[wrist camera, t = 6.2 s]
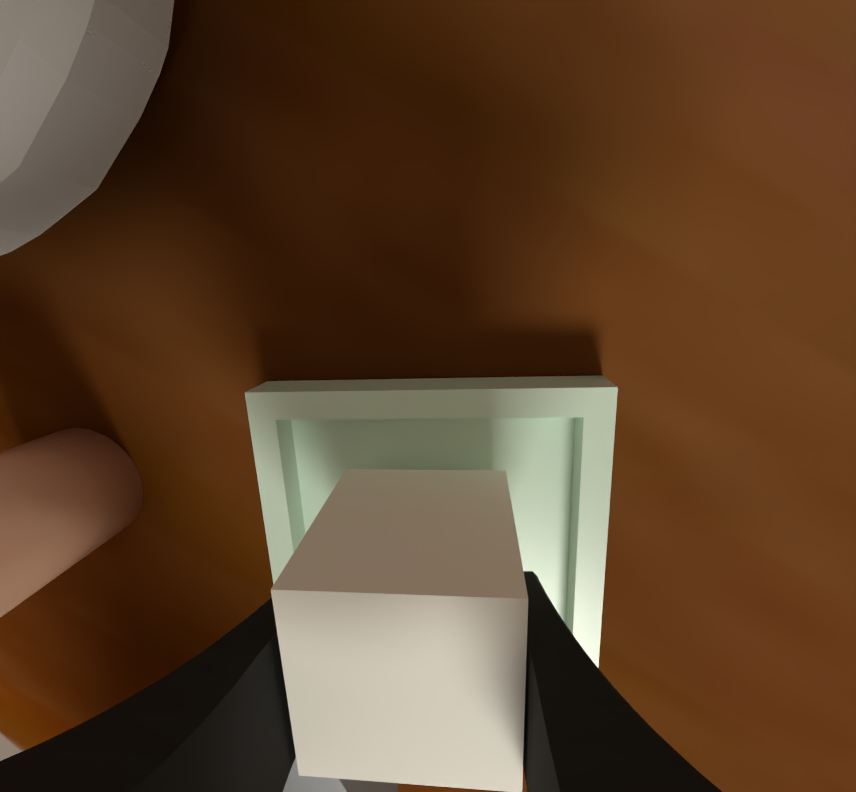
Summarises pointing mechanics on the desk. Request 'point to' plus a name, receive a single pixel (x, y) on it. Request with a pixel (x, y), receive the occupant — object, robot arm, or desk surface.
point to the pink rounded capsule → (60, 506)
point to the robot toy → (69, 100)
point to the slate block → (333, 784)
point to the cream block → (408, 632)
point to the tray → (454, 462)
